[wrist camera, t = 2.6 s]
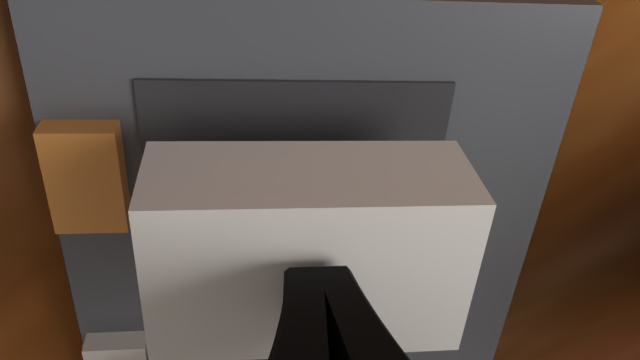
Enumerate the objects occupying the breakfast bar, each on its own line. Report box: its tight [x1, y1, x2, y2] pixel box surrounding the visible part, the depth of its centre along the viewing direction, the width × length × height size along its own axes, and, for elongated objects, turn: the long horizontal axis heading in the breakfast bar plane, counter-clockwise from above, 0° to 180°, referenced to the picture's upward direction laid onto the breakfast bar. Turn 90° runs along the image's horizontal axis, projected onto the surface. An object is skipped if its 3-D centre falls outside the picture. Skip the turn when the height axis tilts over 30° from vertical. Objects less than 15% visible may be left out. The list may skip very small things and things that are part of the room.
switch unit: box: [7, 0, 604, 360], centre depth 22 cm, size 15×26×2 cm, turn 177°
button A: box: [128, 141, 497, 360], centre depth 14 cm, size 8×4×3 cm, turn 87°
